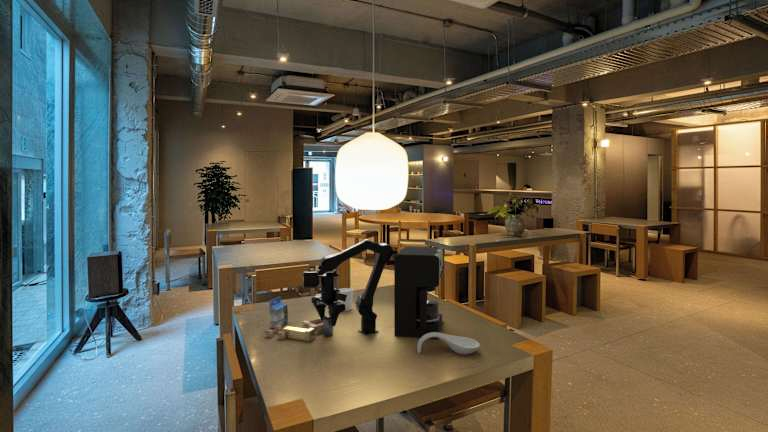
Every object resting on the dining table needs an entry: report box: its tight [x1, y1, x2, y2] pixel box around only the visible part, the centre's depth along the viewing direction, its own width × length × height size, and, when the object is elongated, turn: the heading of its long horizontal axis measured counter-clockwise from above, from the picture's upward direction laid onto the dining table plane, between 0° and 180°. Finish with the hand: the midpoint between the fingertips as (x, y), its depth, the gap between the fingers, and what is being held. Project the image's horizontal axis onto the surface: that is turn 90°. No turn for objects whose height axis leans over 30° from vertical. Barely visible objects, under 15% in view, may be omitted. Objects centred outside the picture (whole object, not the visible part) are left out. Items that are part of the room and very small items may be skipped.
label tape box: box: [269, 295, 289, 329], centre depth 182 cm, size 9×4×12 cm, turn 161°
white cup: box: [337, 287, 354, 312], centre depth 206 cm, size 8×8×10 cm
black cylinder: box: [322, 314, 334, 338], centre depth 169 cm, size 4×4×8 cm
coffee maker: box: [393, 245, 445, 340], centre depth 175 cm, size 28×20×35 cm
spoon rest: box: [416, 332, 481, 355], centre depth 152 cm, size 24×12×7 cm, turn 92°
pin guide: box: [264, 325, 287, 340], centre depth 169 cm, size 9×7×3 cm
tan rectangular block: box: [282, 325, 316, 342], centre depth 166 cm, size 13×4×4 cm, turn 68°
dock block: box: [301, 316, 323, 336], centre depth 176 cm, size 10×10×4 cm
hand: (328, 323), depth 169 cm, fingers open, 9 cm apart
